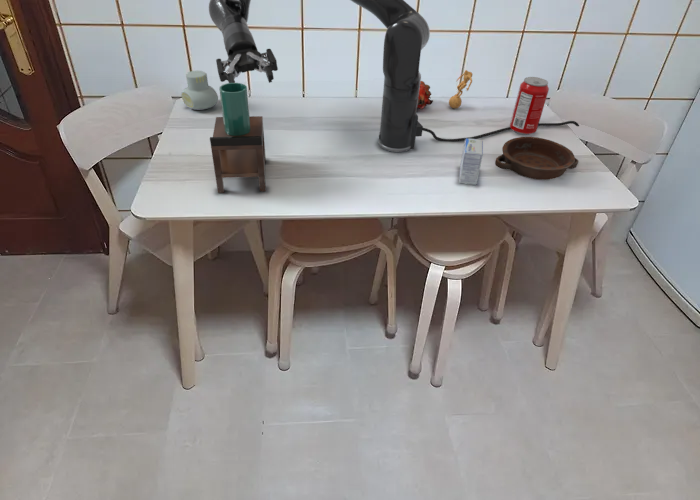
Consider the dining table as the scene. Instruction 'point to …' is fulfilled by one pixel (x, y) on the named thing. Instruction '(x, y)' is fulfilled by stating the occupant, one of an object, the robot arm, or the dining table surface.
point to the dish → (536, 158)
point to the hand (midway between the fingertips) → (252, 82)
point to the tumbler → (235, 108)
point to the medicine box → (471, 161)
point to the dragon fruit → (424, 96)
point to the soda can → (529, 105)
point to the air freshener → (198, 91)
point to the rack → (239, 153)
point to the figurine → (460, 90)
